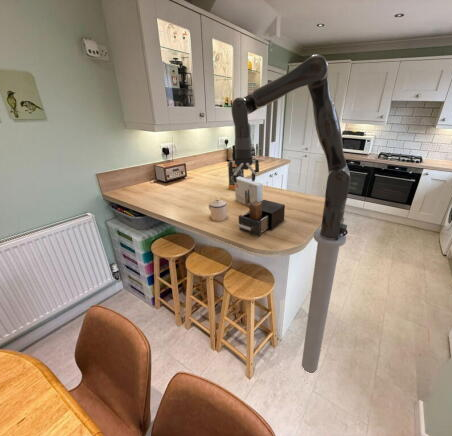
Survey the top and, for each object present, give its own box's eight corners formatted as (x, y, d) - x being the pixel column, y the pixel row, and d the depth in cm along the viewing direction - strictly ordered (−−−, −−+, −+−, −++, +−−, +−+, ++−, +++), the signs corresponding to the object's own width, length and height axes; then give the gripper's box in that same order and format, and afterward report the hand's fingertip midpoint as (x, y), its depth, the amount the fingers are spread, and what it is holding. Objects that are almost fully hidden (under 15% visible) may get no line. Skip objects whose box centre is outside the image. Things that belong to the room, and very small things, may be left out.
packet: (261, 225, 120) (262, 202, 114) (256, 229, 116) (256, 205, 110) (255, 223, 122) (255, 200, 116) (249, 227, 118) (249, 203, 112)
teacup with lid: (230, 217, 133) (229, 198, 128) (219, 223, 127) (217, 203, 122) (215, 211, 140) (214, 193, 135) (204, 217, 133) (202, 198, 128)
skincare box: (234, 200, 156) (233, 177, 149) (241, 198, 160) (240, 176, 153) (256, 209, 143) (256, 185, 136) (263, 207, 146) (263, 183, 139)
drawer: (254, 240, 109) (254, 225, 105) (234, 233, 115) (233, 219, 112) (272, 226, 121) (273, 213, 118) (253, 220, 127) (253, 207, 124)
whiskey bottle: (228, 189, 176) (225, 146, 162) (233, 185, 185) (231, 144, 171) (240, 191, 173) (239, 146, 159) (245, 187, 182) (244, 144, 168)
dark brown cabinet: (271, 230, 120) (271, 213, 115) (250, 223, 126) (249, 207, 122) (284, 220, 130) (284, 204, 125) (263, 214, 136) (263, 199, 132)
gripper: (228, 149, 100) (231, 185, 107) (260, 147, 104) (260, 182, 111) (226, 146, 107) (228, 180, 114) (256, 145, 110) (256, 178, 117)
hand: (244, 181), depth 112 cm, fingers open, 8 cm apart
